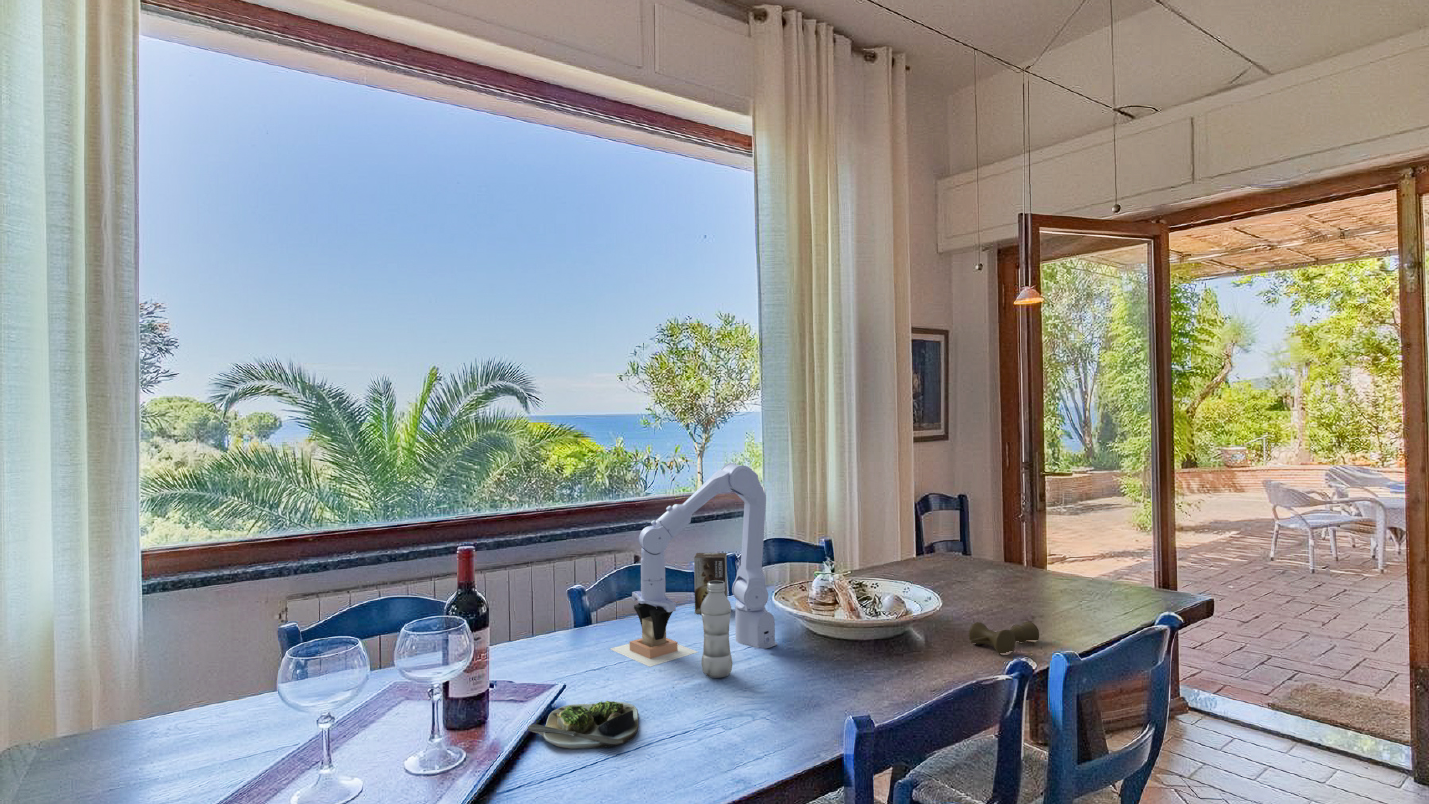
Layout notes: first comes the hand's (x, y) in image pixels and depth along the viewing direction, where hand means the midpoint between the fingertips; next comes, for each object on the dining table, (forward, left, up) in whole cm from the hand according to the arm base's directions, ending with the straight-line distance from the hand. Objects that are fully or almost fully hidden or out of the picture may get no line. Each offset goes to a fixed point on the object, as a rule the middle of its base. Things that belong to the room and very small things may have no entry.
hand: (653, 636), depth 163 cm
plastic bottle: (-20, -2, -4) cm, 21 cm away
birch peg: (0, 0, -2) cm, 2 cm away
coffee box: (+18, -34, -4) cm, 39 cm away
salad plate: (-24, +31, -5) cm, 39 cm away
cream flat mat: (0, 0, -4) cm, 4 cm away
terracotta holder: (0, 0, -3) cm, 3 cm away
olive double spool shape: (-53, -65, -5) cm, 84 cm away
